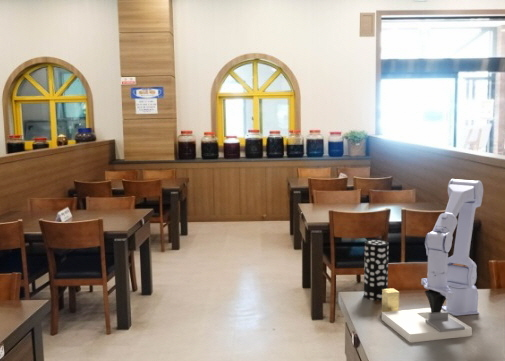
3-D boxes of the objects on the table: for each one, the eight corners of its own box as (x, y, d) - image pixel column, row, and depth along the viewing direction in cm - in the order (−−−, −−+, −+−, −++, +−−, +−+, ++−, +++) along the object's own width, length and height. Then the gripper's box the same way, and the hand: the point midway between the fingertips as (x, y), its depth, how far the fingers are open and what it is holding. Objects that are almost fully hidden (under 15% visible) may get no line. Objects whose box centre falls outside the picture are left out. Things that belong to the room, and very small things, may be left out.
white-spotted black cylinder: (383, 302, 188) (384, 246, 186) (360, 297, 192) (361, 243, 190) (390, 295, 195) (391, 241, 193) (368, 291, 199) (369, 238, 197)
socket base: (437, 314, 176) (437, 307, 176) (471, 335, 159) (471, 327, 158) (381, 319, 172) (381, 312, 171) (410, 342, 154) (410, 334, 154)
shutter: (448, 319, 165) (449, 310, 164) (464, 329, 157) (465, 320, 156) (425, 322, 163) (425, 313, 162) (440, 332, 155) (440, 322, 155)
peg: (392, 311, 179) (393, 288, 178) (398, 315, 175) (399, 292, 174) (381, 312, 178) (382, 289, 177) (387, 316, 174) (387, 293, 173)
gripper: (413, 265, 169) (411, 307, 170) (438, 278, 155) (437, 324, 156) (433, 264, 170) (431, 305, 172) (460, 277, 156) (458, 321, 158)
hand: (435, 314), depth 164 cm, fingers closed
